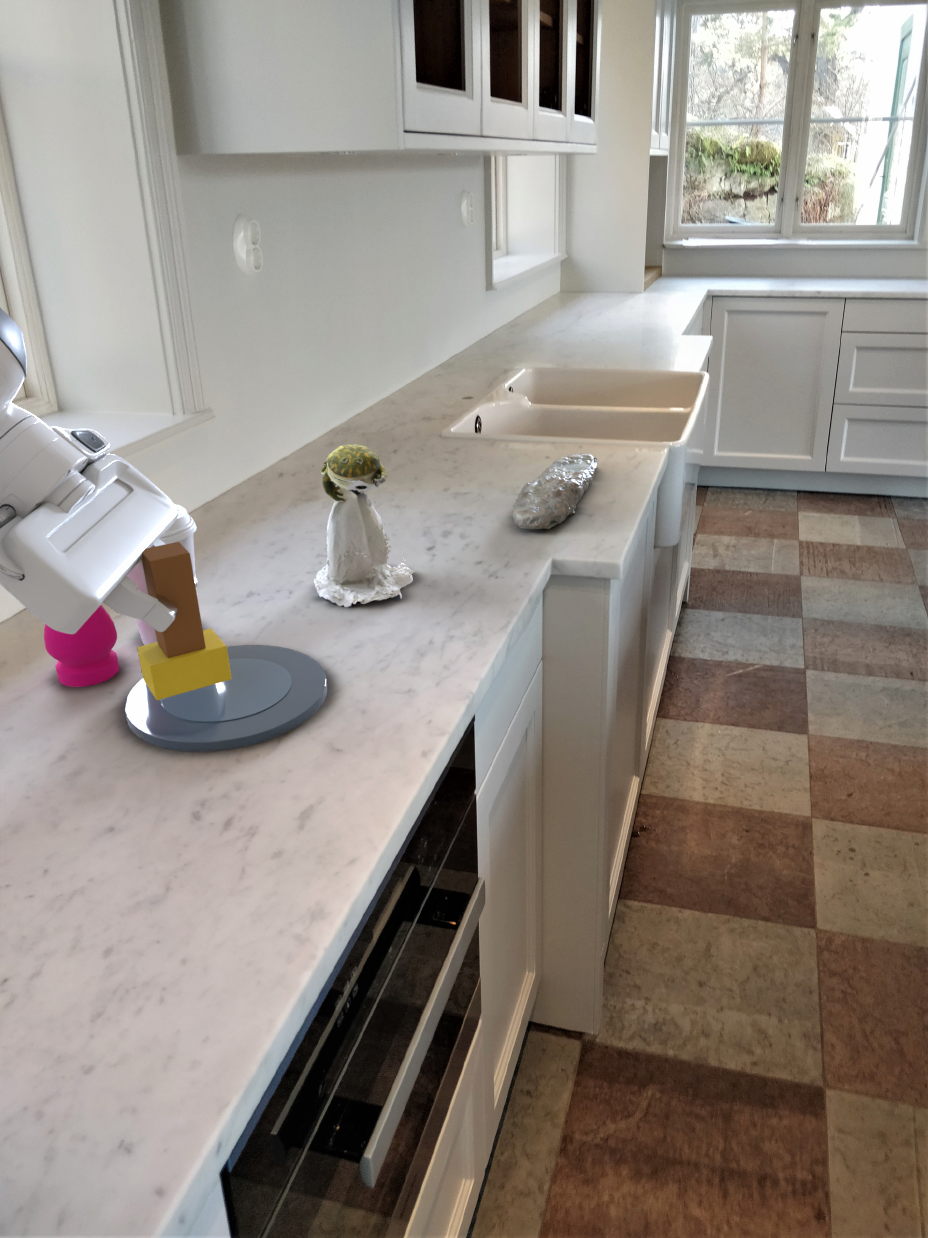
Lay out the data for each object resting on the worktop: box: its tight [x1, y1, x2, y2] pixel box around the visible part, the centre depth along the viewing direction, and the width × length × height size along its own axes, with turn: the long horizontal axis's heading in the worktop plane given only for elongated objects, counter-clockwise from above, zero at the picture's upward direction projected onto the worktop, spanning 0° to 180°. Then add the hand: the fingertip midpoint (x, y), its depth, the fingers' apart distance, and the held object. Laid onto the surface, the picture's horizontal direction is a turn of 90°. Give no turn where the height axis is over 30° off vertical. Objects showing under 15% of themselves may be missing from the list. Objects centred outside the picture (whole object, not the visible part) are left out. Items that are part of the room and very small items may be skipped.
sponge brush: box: [136, 542, 232, 700], centre depth 74 cm, size 6×4×11 cm, turn 121°
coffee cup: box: [127, 503, 198, 645], centre depth 108 cm, size 10×10×15 cm
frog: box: [313, 444, 415, 608], centre depth 119 cm, size 12×13×18 cm
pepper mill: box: [43, 604, 120, 688], centre depth 100 cm, size 7×7×20 cm
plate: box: [124, 644, 328, 753], centre depth 97 cm, size 20×20×1 cm
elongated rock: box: [511, 452, 599, 530], centre depth 152 cm, size 35×5×10 cm
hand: (182, 607), depth 74 cm, fingers closed on sponge brush, 4 cm apart
